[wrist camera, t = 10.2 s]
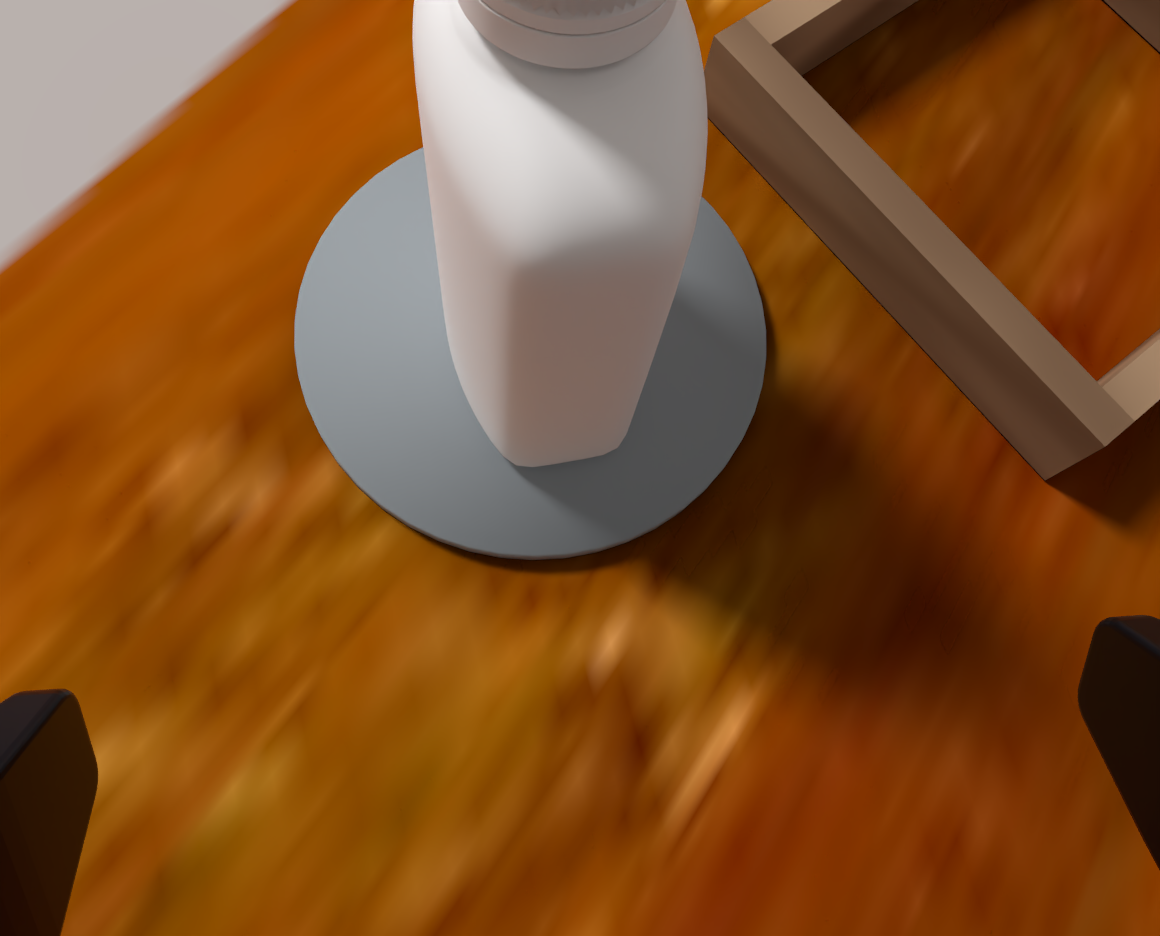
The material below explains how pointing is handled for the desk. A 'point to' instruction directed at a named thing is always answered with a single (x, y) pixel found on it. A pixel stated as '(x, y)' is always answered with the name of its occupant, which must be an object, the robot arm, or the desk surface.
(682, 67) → the eye dropper bottle
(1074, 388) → the walnut collar
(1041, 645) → the desk surface
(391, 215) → the rubber coaster
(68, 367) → the desk surface
